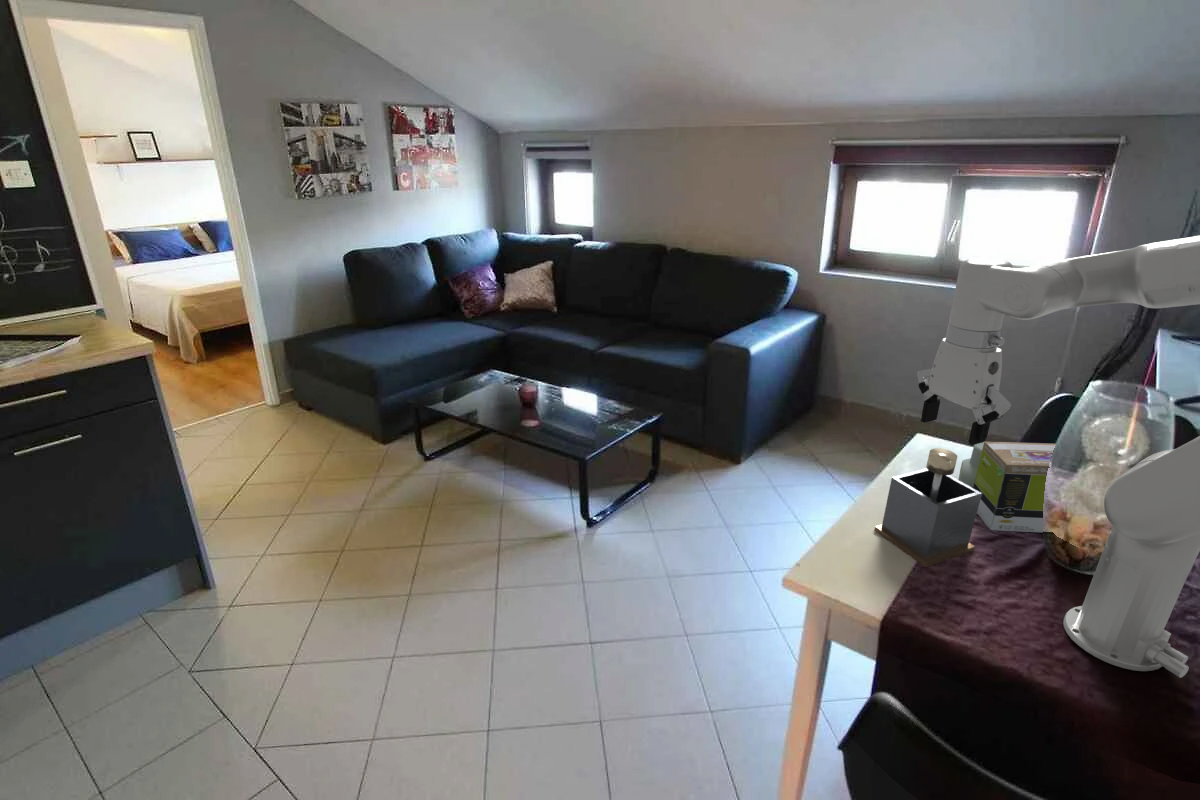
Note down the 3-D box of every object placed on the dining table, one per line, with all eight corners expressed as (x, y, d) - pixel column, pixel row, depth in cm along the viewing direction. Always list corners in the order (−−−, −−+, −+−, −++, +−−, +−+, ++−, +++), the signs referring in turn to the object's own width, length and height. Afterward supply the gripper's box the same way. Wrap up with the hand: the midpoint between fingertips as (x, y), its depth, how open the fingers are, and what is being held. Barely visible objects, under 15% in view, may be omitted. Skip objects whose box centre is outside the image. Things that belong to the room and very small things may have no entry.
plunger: (958, 541, 119) (979, 459, 113) (925, 551, 117) (945, 468, 110) (922, 518, 126) (941, 440, 119) (891, 527, 123) (908, 448, 117)
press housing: (973, 550, 119) (989, 494, 114) (925, 567, 115) (939, 509, 110) (920, 516, 129) (933, 463, 124) (874, 530, 125) (885, 476, 120)
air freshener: (1001, 506, 133) (1013, 463, 129) (956, 495, 136) (966, 453, 132) (1001, 482, 141) (1013, 441, 137) (958, 472, 145) (968, 432, 141)
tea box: (1044, 507, 132) (1065, 442, 126) (1072, 536, 123) (1096, 467, 117) (967, 503, 134) (984, 439, 128) (988, 531, 125) (1008, 463, 119)
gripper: (1039, 348, 100) (1013, 448, 106) (944, 320, 115) (926, 409, 121) (1005, 355, 97) (980, 457, 104) (912, 325, 112) (896, 416, 118)
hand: (951, 431), depth 112 cm, fingers open, 9 cm apart
